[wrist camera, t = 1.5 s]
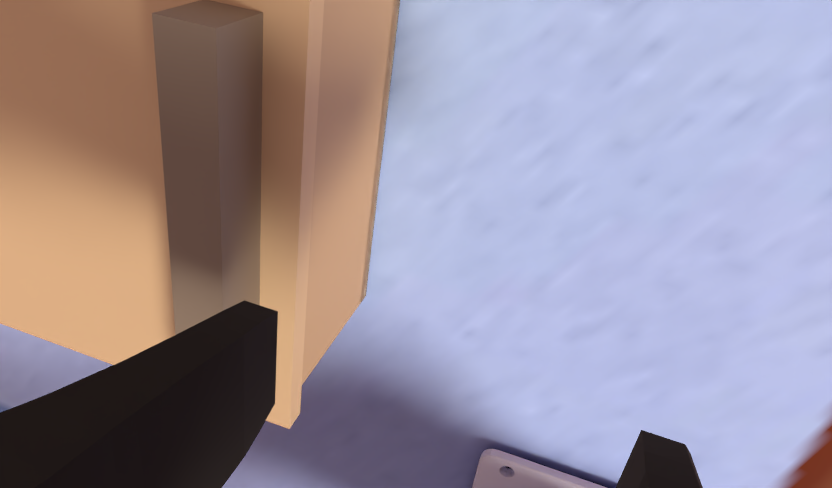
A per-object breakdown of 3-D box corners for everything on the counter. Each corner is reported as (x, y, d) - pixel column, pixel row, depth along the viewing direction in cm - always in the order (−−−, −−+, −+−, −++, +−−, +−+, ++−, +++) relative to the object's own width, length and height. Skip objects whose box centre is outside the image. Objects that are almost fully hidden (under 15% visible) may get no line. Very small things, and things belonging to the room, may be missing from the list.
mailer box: (407, -67, 16) (318, -47, 12) (365, 295, 22) (295, 394, 18) (7, -143, 19) (-184, -148, 14) (63, 201, 24) (-61, 268, 20)
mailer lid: (328, -60, 11) (267, -48, 10) (299, 413, 18) (259, 472, 16) (-214, -167, 14) (-339, -173, 12) (-75, 278, 20) (-146, 317, 18)
